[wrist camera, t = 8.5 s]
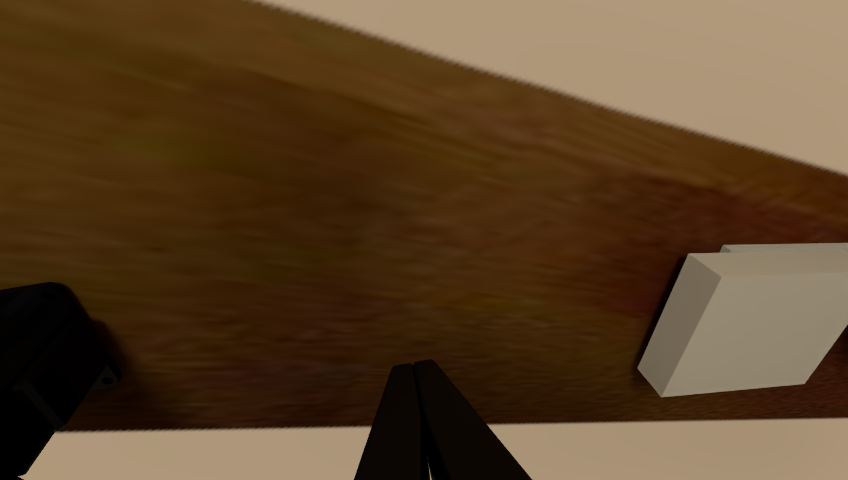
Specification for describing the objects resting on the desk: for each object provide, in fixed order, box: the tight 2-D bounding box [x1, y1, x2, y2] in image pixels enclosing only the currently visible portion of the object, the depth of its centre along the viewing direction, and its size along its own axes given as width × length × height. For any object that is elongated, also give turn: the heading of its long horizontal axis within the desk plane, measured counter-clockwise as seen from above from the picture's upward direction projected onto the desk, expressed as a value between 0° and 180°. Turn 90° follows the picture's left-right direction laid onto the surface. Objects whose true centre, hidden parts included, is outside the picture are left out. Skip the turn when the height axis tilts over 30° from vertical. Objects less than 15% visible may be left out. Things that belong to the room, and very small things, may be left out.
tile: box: [638, 250, 848, 397], centre depth 25 cm, size 3×9×11 cm
